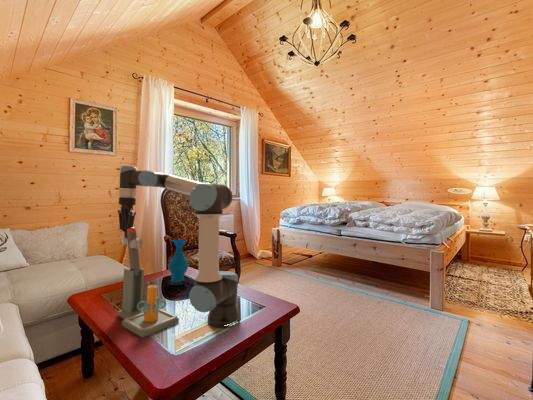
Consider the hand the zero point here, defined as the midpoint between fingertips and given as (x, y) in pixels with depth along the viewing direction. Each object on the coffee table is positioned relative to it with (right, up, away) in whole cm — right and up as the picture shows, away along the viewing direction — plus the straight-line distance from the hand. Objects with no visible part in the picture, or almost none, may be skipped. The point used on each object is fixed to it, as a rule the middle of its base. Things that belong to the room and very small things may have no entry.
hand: (125, 244), depth 140 cm
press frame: (+14, -34, -11) cm, 38 cm away
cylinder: (+19, -32, -14) cm, 40 cm away
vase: (+12, -33, +44) cm, 56 cm away
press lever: (+10, -2, -7) cm, 12 cm away
